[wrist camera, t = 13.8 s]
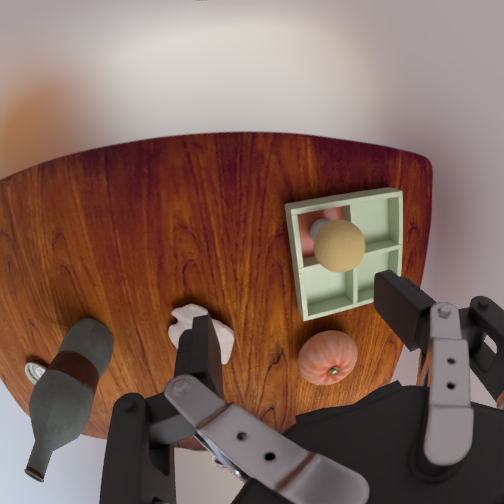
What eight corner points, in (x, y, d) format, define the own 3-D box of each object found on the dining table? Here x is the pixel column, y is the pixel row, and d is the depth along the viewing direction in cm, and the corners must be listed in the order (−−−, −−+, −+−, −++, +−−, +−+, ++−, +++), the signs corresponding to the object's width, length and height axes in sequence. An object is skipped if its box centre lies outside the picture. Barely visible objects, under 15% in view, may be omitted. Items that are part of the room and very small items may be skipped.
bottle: (103, 362, 44) (59, 496, 16) (66, 334, 41) (0, 460, 13) (125, 337, 43) (76, 493, 15) (84, 305, 40) (2, 449, 12)
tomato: (286, 366, 49) (296, 397, 41) (300, 320, 45) (314, 350, 38) (337, 364, 50) (351, 392, 43) (355, 321, 47) (374, 347, 39)
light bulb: (298, 251, 40) (321, 283, 30) (300, 208, 37) (326, 228, 28) (338, 250, 40) (369, 278, 31) (342, 208, 38) (377, 227, 29)
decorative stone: (162, 297, 41) (181, 361, 48) (155, 312, 37) (177, 376, 44) (231, 297, 40) (239, 363, 47) (229, 314, 37) (237, 379, 44)
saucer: (68, 388, 46) (65, 395, 44) (42, 386, 46) (39, 392, 44) (47, 356, 43) (43, 363, 41) (22, 356, 42) (18, 363, 40)
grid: (284, 204, 38) (290, 209, 34) (389, 187, 38) (402, 190, 35) (297, 309, 44) (303, 321, 41) (388, 284, 45) (399, 293, 42)
